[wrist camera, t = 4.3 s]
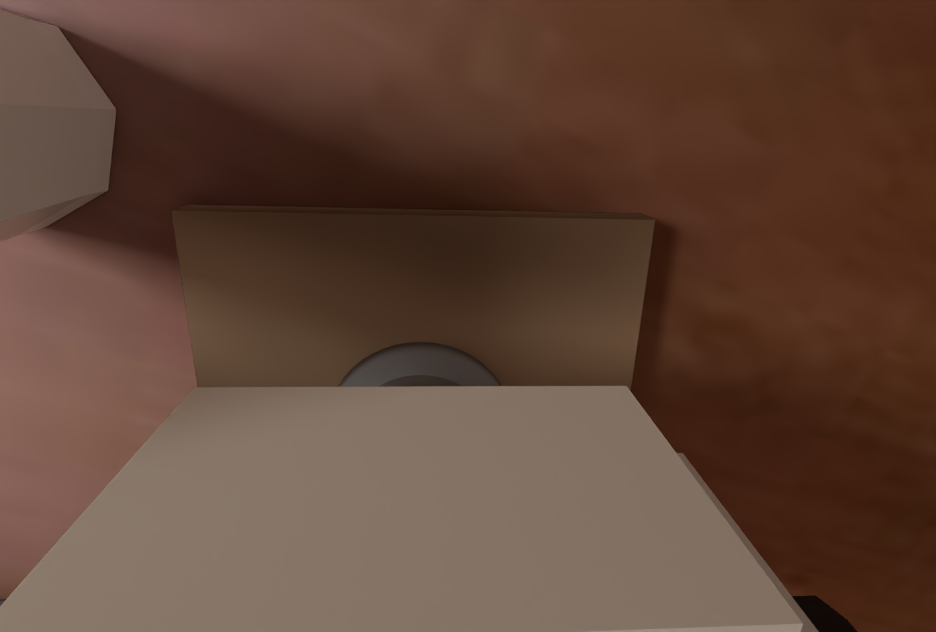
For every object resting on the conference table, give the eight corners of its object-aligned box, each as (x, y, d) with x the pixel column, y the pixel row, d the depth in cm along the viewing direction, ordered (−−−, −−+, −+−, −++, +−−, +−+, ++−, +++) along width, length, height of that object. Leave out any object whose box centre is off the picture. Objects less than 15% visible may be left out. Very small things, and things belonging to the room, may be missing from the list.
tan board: (187, 204, 14) (-292, 371, 5) (641, 213, 15) (996, 370, 6) (239, 570, 18) (34, 1053, 9) (594, 560, 19) (754, 991, 10)
